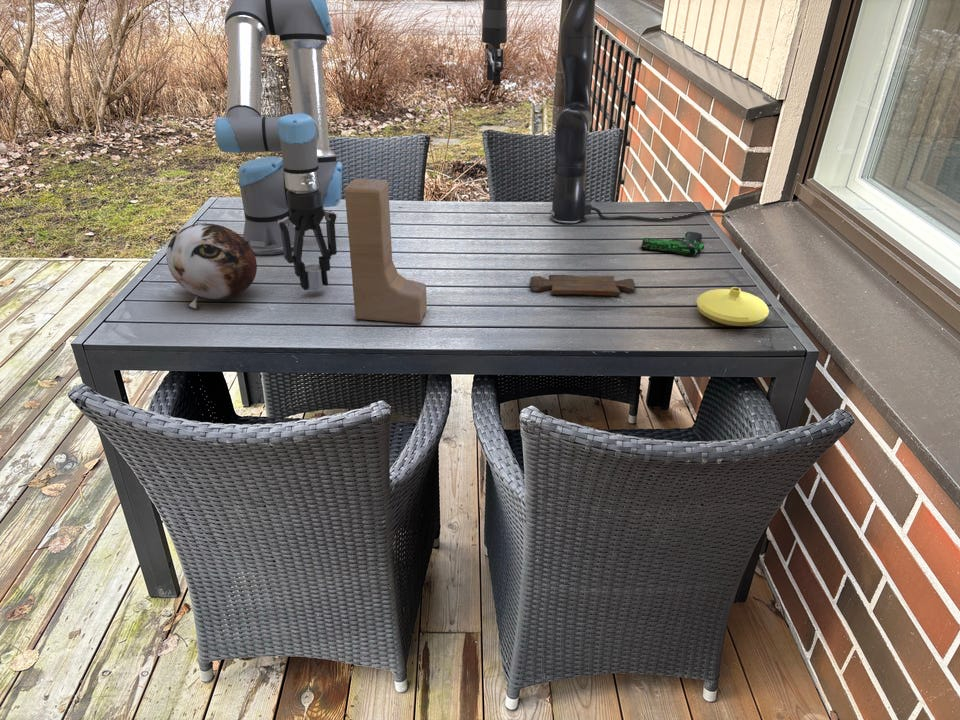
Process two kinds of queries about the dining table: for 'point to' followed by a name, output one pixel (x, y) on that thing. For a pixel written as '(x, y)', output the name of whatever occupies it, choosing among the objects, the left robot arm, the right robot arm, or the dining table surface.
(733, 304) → the yellow lid
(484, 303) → the dining table surface
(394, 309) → the decorative block
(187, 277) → the plush toy
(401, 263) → the dining table surface
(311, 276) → the can
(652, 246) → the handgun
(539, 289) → the wooden paddle board
